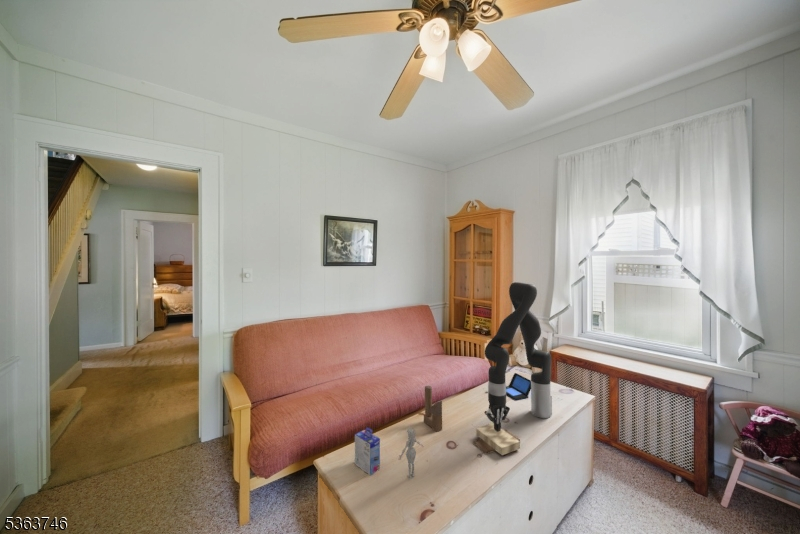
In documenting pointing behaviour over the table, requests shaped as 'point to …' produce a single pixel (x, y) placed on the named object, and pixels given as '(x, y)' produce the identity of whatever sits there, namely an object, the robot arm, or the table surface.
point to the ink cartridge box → (367, 451)
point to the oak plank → (498, 439)
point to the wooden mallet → (432, 411)
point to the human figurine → (410, 451)
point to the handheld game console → (518, 387)
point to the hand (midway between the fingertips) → (497, 430)
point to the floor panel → (486, 447)
